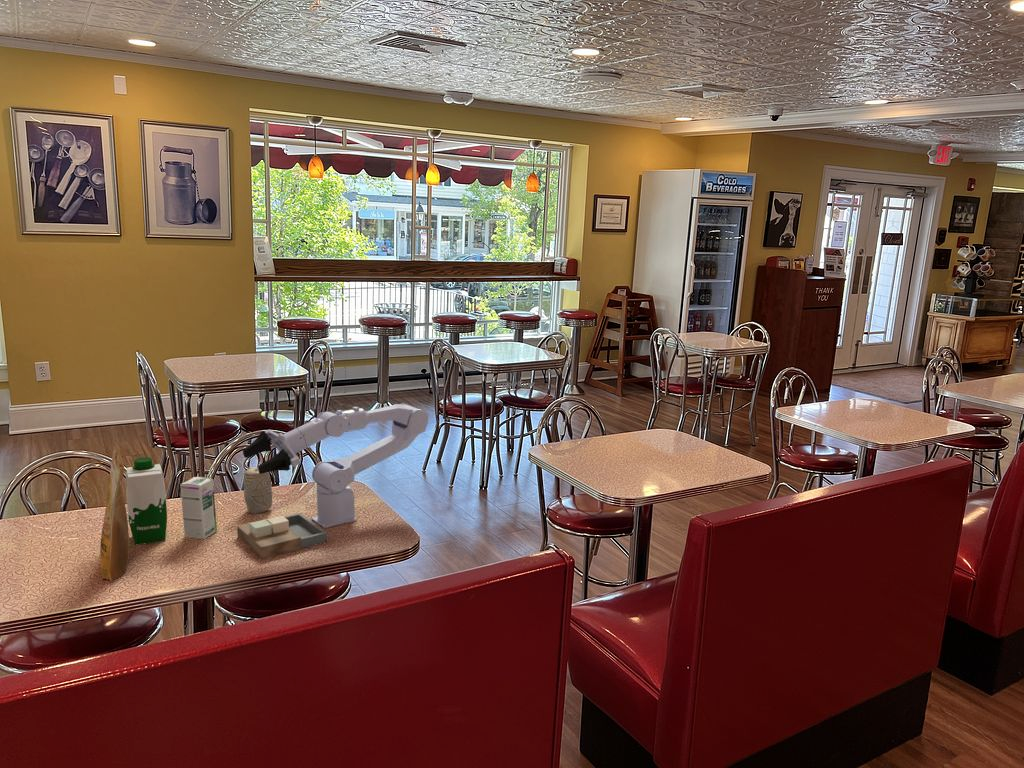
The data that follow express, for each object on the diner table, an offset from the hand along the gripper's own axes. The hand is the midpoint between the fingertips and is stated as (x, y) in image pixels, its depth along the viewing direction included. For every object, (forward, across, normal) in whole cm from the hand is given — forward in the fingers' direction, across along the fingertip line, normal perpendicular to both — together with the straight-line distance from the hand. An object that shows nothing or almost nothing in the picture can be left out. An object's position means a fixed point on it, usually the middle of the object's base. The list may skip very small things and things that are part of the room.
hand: (251, 462), depth 191 cm
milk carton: (+25, -12, +19) cm, 34 cm away
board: (+4, +10, +18) cm, 21 cm away
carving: (-3, -10, +27) cm, 29 cm away
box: (-4, +11, +20) cm, 24 cm away
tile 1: (+5, +9, +15) cm, 18 cm away
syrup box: (+15, -6, +20) cm, 26 cm away
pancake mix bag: (+35, -1, +12) cm, 37 cm away
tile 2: (0, +9, +16) cm, 19 cm away
